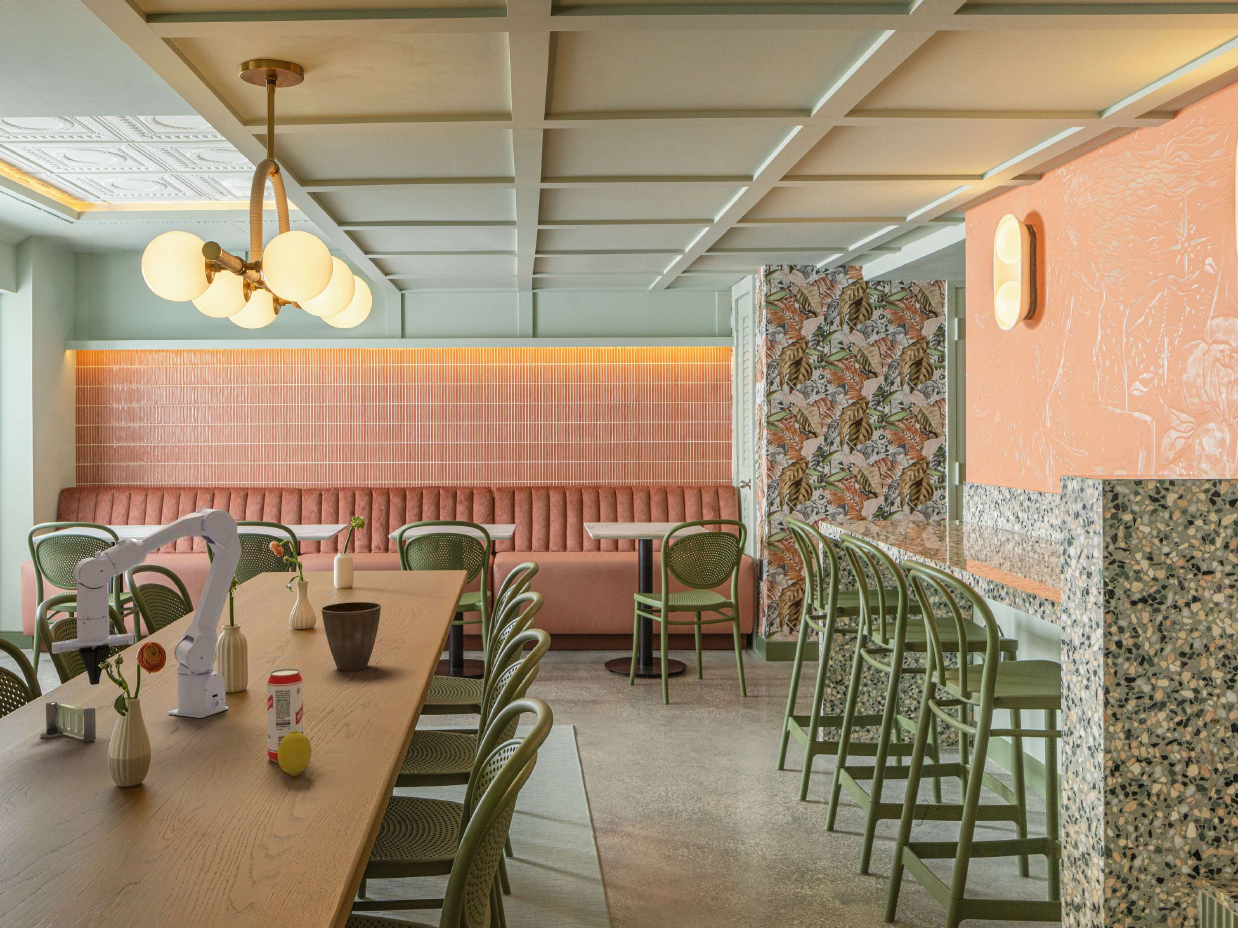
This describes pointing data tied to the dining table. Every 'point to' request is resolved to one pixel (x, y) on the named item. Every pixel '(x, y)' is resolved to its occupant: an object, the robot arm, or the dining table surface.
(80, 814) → the dining table surface
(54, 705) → the post
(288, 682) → the beer can
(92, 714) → the gate
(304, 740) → the lemon
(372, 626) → the plant pot
